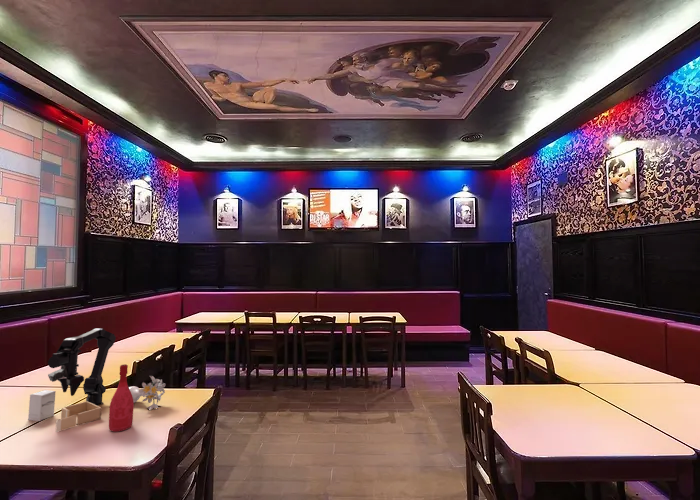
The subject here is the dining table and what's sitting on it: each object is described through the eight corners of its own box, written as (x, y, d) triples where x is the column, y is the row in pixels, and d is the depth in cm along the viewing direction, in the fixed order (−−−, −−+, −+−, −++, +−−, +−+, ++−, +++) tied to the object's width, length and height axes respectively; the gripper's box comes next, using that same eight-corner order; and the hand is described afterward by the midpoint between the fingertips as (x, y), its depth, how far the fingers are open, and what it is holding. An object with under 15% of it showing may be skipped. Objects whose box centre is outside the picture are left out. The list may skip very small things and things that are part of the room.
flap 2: (55, 431, 164) (56, 420, 165) (74, 425, 171) (75, 414, 171) (56, 432, 164) (57, 420, 164) (75, 426, 170) (76, 415, 171)
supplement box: (39, 421, 176) (41, 395, 176) (27, 420, 177) (29, 394, 178) (54, 415, 183) (56, 390, 184) (43, 414, 184) (44, 389, 185)
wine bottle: (106, 434, 163) (110, 368, 165) (109, 426, 171) (113, 363, 173) (131, 430, 167) (134, 366, 169) (133, 422, 176) (136, 361, 178)
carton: (86, 411, 188) (87, 401, 189) (100, 418, 180) (101, 407, 180) (63, 418, 180) (64, 407, 180) (77, 425, 171) (78, 414, 172)
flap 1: (63, 417, 179) (63, 407, 180) (68, 421, 176) (69, 410, 176) (60, 418, 179) (61, 408, 179) (66, 421, 175) (67, 411, 175)
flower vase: (123, 417, 197) (154, 413, 188) (113, 386, 197) (143, 380, 188) (144, 405, 209) (173, 400, 200) (134, 376, 209) (164, 369, 200)
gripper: (43, 363, 180) (41, 394, 179) (58, 369, 170) (56, 402, 169) (69, 359, 189) (67, 388, 188) (85, 364, 180) (83, 395, 179)
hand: (68, 393), depth 181 cm, fingers open, 9 cm apart
